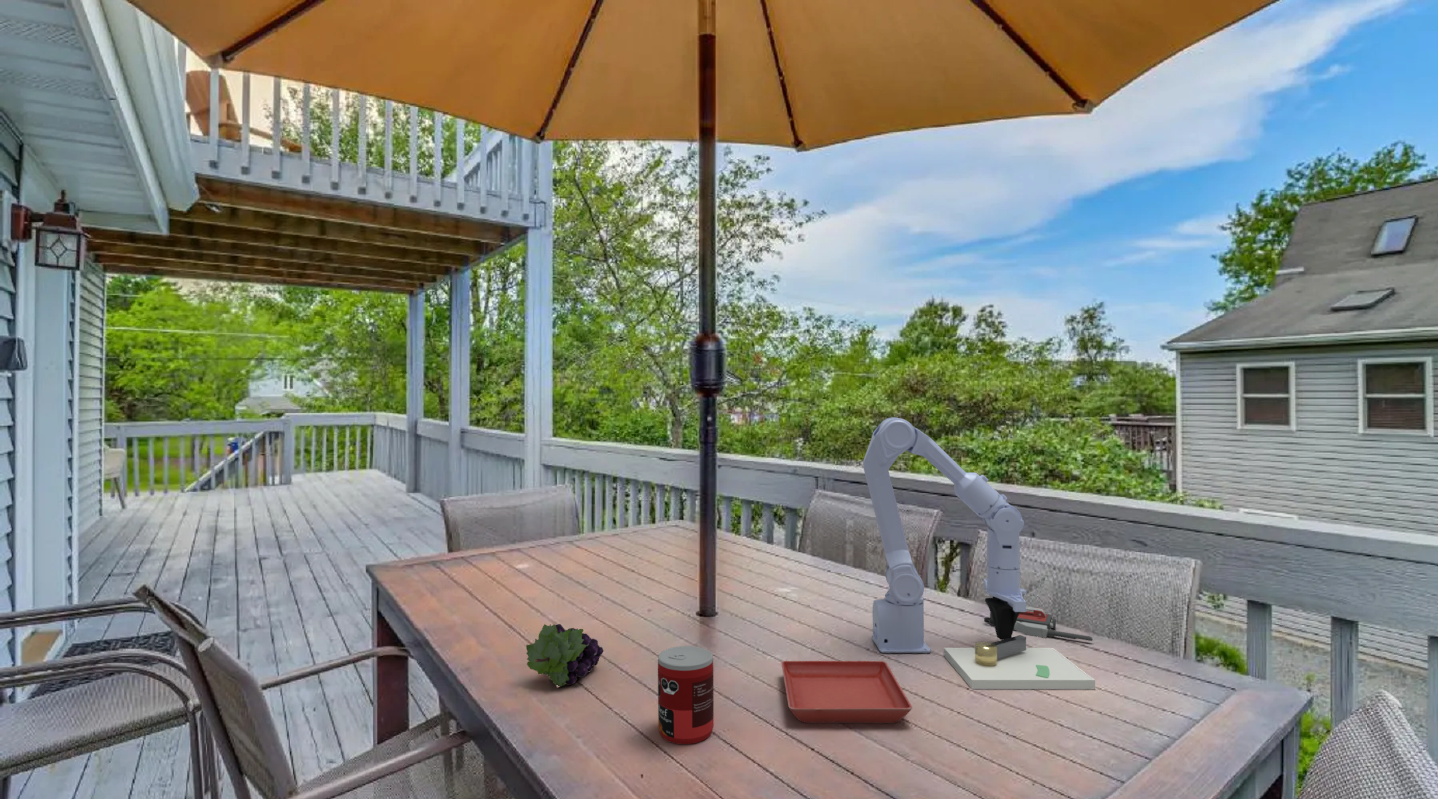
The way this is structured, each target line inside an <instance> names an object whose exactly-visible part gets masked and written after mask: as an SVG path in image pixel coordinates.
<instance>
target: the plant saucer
mask: <svg viewBox="0 0 1438 799" xmlns="http://www.w3.org/2000/svg"><path fill="white" fill-rule="evenodd" d="M780 664H781V670H782V676H783V682H784V686H785V693H786V699H787V706H788V708H789V710H790V711H791V713H792V715H794V716H795V717H796V719H797V720H799V721H800V722H801V723H809V724H810V723H812V724H815V723H816V724H817V723H822V724H824V723H826V724H827V723H829V724H830V723H834V724H836V723H837V724H838V723H840V724H843V723H845V724H846V723H848V724H849V723H850V724H852V723H853V724H854V723H857V724H859V723H861V724H863V723H864V724H869V723H870V724H872V723H873V724H896V723H898V722H900V721H901V720H902V719H903V718H905V717H906V716H907V715H908V714H909V712H911V711H912V710H913V705H912V704H911V702H910V700H909V698H908V697H907V695H906V693H905V692H904V690H903V688H902V686H901V685H900V684H899V681H898V680H897V678H896V677H895V675H894V673H893V671H892V669H891V668H890V666H889V665H888V663H887V662H886V661H884V660H783V661H781V662H780Z"/></svg>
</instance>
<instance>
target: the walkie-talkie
mask: <svg viewBox="0 0 1438 799" xmlns="http://www.w3.org/2000/svg"><path fill="white" fill-rule="evenodd" d="M1056 620H1057V619H1056V618H1054V617H1053V615H1052V614H1048V613H1046V611H1045V609H1043V608H1041V607H1033V606H1027V605H1026V612H1020V614H1019V616H1018V617H1017V620H1016V622H1015V626H1014V629H1013V631H1014V630H1015V631H1016V632H1017V633H1021V634H1023V635H1026V636H1033V637H1037V636H1038V638H1043V639H1047V638H1046V637H1053V638H1054V637H1059V638H1065V639H1070V640H1083V641H1089V642H1092V641H1093V637H1092V636H1090V635H1083V634H1078V633H1077V634H1076V633H1071V632H1065V631H1059V630H1056V627H1057V626H1056V625H1057V622H1056ZM983 622H984V623H986V624H989V625H990V626H991V627H995V626H994V622H993V618H992V615H991V612H990V611H989V617H984V618H983Z"/></svg>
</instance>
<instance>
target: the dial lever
mask: <svg viewBox="0 0 1438 799" xmlns="http://www.w3.org/2000/svg"><path fill="white" fill-rule="evenodd" d="M974 648H975V661H976V662H977V663H980V664H983V665H996V664H997V659H998V658H1002V657H1005V656H1008V655H1012V654H1015V653H1019V652H1022V651H1025V650H1026V648H1027V637H1026V636H1024V635H1021V634H1020V635H1014V636H1012V637H1011V638H1007V639H1004V640H1000V639H999V640H996V641H993V642H988V641H987V642H986V641H978V642H975V643H974Z"/></svg>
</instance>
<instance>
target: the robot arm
mask: <svg viewBox="0 0 1438 799" xmlns="http://www.w3.org/2000/svg"><path fill="white" fill-rule="evenodd" d="M871 435H872V436H871V439H870V442H869V444H868V447H867V450H866V452H865V455H864V457H863V460H862V467H863V472H864V475H865V480H866V483H867V488H868V491H869V495H870V500H871V503H872V507H873V511H874V515H875V520H876V522H877V527H878V531H879V534H880V538H881V539H880V540H881V543H882V546H883V551H884V555H885V559H886V560H885V561H886V568H885V569H886V570H885V579H886V582H887V584H888V588H889V589H888V590H887V592H886V593H885V594H884V598H881V599H874V600H873V603H872V635H871V638H872V640H873V642H874V644H875V645H876V647H877V648H878V651H879V652H880V653H882V654H883V653H887V654H888V653H889V654H890V653H891V654H892V653H893V654H894V653H895V654H897V653H898V654H900V653H902V654H903V653H908V654H909V653H911V654H912V653H921V654H922V653H925V654H926V653H928V654H930V653H931V652H932V650H931V648H930V647H929V646H928V644H927V643H926V642H925V635H924V634H925V627H924V626H925V618H924V617H925V616H924V613H925V610H924V609H925V608H924V607H925V606H924V602H925V600H924V597H923V595H924V593H925V584H924V581H923V579H922V578H921V576H920V575H919V573H918V569H917V568H916V566H915V565H914V563H913V560H912V556H911V553H910V550H909V547H908V542H907V539H906V535H905V534H906V533H905V530H904V525H903V523H902V518H901V515H900V510H899V507H898V503H897V499H896V495H895V491H894V488H893V484H892V479H891V477H890V476H891V475H890V472H889V470H890V468H892V466H893V464H894V463H895V462H896V460H897V458H898V457H899V456H901V455H902V454H903V453H905V452H906V451H907V452H909V453H910V454H913V455H917V456H921V457H923V458H924V459H926V460H927V462H928V463H930V464H931V465H932V466H933V467H934V468H935V469H937V470H938V471H939V472H940V473H941V474H942V475H944V477H946V478H947V479H949V481H951V482H952V483H953V488H954V492H953V493H954V495H955V496H956V497H957V498H958V499H960V501H962V502H963V503H964V504H965V505H966V506H967V507H968V508H969V509H970V510H971V511H972V512H973V513H974V514H975V515H977V516H978V517H979V518H982V521H983V523H984V525H985V526H988V527H987V537H986V538H987V539H986V578H984V579H983V590H985V592H986V593H987V595H989V596H992V597H986V598H985V599H984V602H985V604H986V606H987V607H988V609H989V613H990V612H991V615H992V618H993V622H994V626H993V627H994V631H995V634H996V637H997V639H999V641H1000V640H1004V639H1007V638H1011V637H1013V633H1014V626H1015V622H1016V620H1017V617H1018V616H1019V614H1020V612H1026V611H1027V610H1026V606H1027V601H1026V600H1025V599H1024V597H1023V596H1024V595H1027V589H1024V588H1022V587H1021V552H1020V550H1021V548H1020V547H1021V546H1020V533H1021V531H1022V530H1023V528H1024V526H1025V520H1024V519H1023V516H1022V513H1021V512H1020V511H1019V510H1018V508H1016V507H1015V506H1013V505H1011V504H1009V502H1008V501H1007V500H1008V497H1007V496H1006V495H1005V494H1003V493H1001V494H1000V493H999V492H998V491H997V490H996V489H995V488H993V487H992V485H991V484H989V483H988V481H989V478H988V477H986V476H985V475H984V474H981V475H980V474H978V473H977V472H966V471H965V470H964V469H963V468H962V467H960V465H959V464H958V463H957V462H956V461H955V460H954V459H953V458H952V457H951V456H949V454H948V453H947V452H946V451H944V449H943V448H942V447H941V446H939V444H937V443H936V441H935V440H933V439H932V438H931V437H930V436H929V435H927V434H926V433H924V432H923V431H921V430H920V429H919V428H916V427H914V426H913V424H912V423H911V422H909V421H908V420H906V419H904V418H900V417H894V416H893V417H888V418H885V419H884V420H882V422H881V423H880V424H878V426H877V427H876V428H875V430H874V431H873V432H872V434H871Z"/></svg>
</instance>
